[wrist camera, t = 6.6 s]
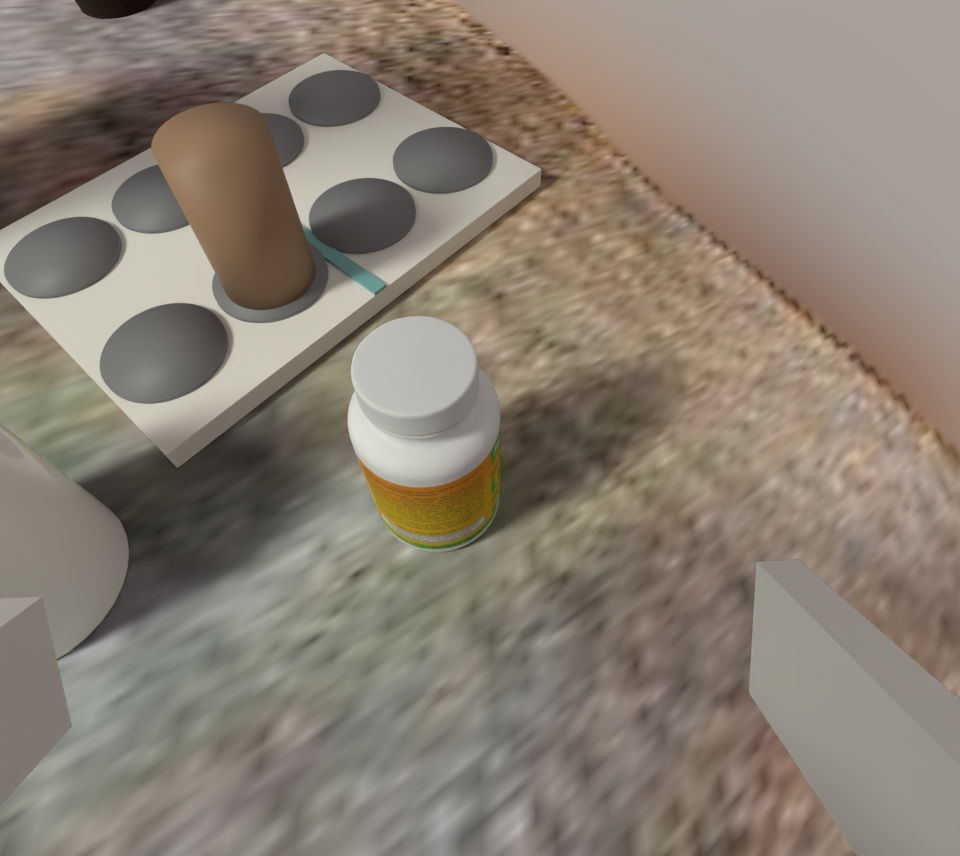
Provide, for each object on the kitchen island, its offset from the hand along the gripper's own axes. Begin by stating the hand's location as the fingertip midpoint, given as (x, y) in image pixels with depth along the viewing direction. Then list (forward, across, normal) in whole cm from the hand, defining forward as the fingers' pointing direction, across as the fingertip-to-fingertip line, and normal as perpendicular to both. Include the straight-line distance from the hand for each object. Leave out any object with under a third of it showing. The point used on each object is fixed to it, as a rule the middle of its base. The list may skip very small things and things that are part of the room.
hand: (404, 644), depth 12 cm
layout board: (+29, -10, +10) cm, 32 cm away
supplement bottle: (+16, 0, -3) cm, 16 cm away
